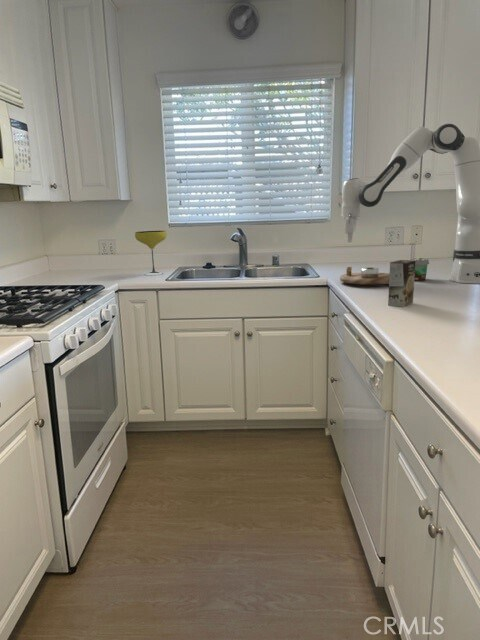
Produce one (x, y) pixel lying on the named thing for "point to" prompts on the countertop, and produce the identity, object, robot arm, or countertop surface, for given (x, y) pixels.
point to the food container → (421, 269)
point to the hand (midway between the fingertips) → (349, 241)
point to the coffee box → (401, 283)
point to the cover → (369, 272)
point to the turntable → (357, 279)
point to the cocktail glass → (151, 240)
